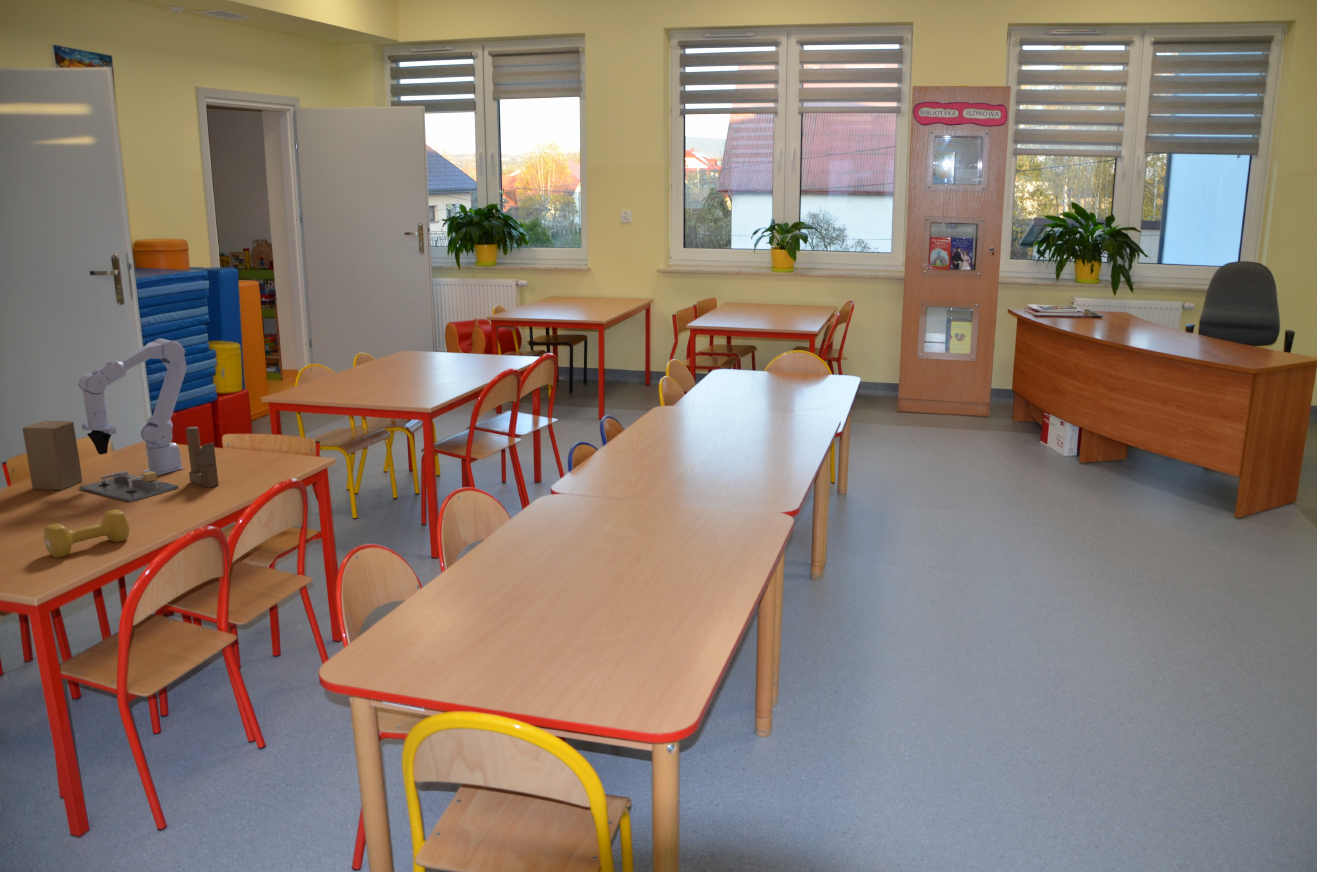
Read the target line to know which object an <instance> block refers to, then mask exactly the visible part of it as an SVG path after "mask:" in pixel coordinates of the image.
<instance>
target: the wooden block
mask: <svg viewBox="0 0 1317 872" xmlns="http://www.w3.org/2000/svg"><path fill="white" fill-rule="evenodd" d="M74 423H75V422H74V421H72V420H42V421H39V422H37V423H33V424H30V425H28V426H24V427H22V435H23V440H24V445H25V446H24V447H25V451H26V457H27V463H28V469H29V475H30V481H31V482H30V483H31V487H32V490H43V491H45V490H47V491H63V490H65V489H68V488H69V487H72V486H74V485H76V484H79V483H81V482H83V475H82V468H81V462H80V456H79V447H78V443H77V442H78V441H77V436H76V435H77V434H76V429H75V424H74Z"/></svg>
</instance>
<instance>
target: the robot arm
mask: <svg viewBox="0 0 1317 872" xmlns="http://www.w3.org/2000/svg"><path fill="white" fill-rule="evenodd" d="M185 354H186V350H185V349H184V347H183V346H182V344H181V343H180V342H179V341H176V340H170V339H165V338H162V337H161V338H157V339H155V340H153V341H150V342H147V344H146V345H144V346H143V347H141V348H139V349H137V350H136V351H134V352H133V353H131V354H130V355H128V356H127V357H125V358H123V359H122V360H119V361H118V360H112V361H111V360H108V361H106V362H105V363H106V364H104V365H103V366H101V367H99V368H98V369H93V370H92V373H84V374H83V375H82V376H81V377H80V379H79V382H78V383H77V385H78V387H79V389H80V390H81V391H82V393H83V394H82V395H83V402H84V408H85V414H86V415H85V416H86V422H84V423H81V426H82V427H81V428H82V430H84V431H91V432H88V433H86V434H87V436H88V438H89V439H90V440H91V442H92V444H93V445H94V448H95V450H96V451H97V455H106V454H108V448H109V444H110V443H109V442H110V439H111V436H112V435H115V434H117V428H116V427H115V426H112V425H111V424H110V423H109V417H108V411H107V403H106V397H105V391H106V389H107V387H108V386H109V385H112V384H113V383H115V382H117V381H119V380H120V379H123V378H124V377H126V375H127V372H128V370H130V369H132V368H134V367H136V366H138V365H140V364H142V363H144V362H146V361H148V360H150V359H153V360H155V359H156V360H157V359H158V360H160V361H161V362H162V363H163V365H164V366H165V368H166V374H165V377H164V380H163V383H162V385H161V386H162V387H161V389H160V392H159V395H158V398H157V402H156V405H155V407H154V410H153V413H152V415H151V416H150V417H149V418H148V419H147V422H146V423H145V424H144V426H143V427H142V429H141V430H140V437H141V438H142V440H143V441H145V450H146V457H147V465H148V466H147V467H148V469H145V470H143V472H142V473H145V472H148V471H152V472H156V476H160V475H165V474H167V473H168V474H169V473H173V472H176V471H180V470H183V469H184V466H182V458H181V451H180V448H179V446H178V444H177V443H175V442H172V440H173V427H174V425H173V422H172V416H173V413H174V410H175V407H176V403H177V400H178V397H179V395H180V391H181V387H182V384H183V382H184V378H185V375H186V372H187V368H188V367H187V363H186V358H185V357H186V355H185Z"/></svg>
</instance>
